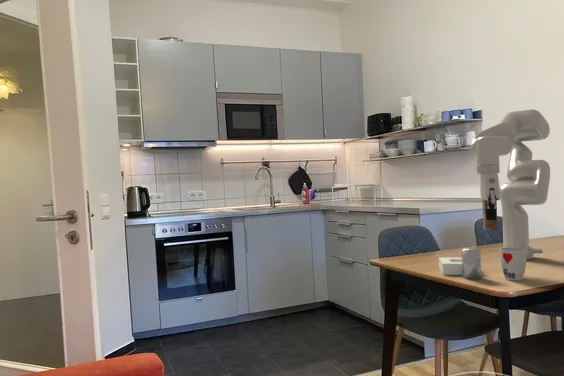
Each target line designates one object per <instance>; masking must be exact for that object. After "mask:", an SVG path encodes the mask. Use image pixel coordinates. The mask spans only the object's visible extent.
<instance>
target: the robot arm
mask: <svg viewBox="0 0 564 376" xmlns="http://www.w3.org/2000/svg"><path fill="white" fill-rule="evenodd" d="M550 129H551V127H550V125H549V122H548V121H547V119H546V117H544V115H543V114H542V113H541V112H540V111H539V110H538V109H537V110H536V109H524V110H516V111H510V112H508V113H507V114H505V115H504V116H503V117H502V118H501V120H500V121H499V122H498V123H497V124H495V125H493V126H491V127H489V128H486V129H483V130H481V131H480V132H478V133H477V134H476V135H475V136H474V137H473V138H472V140H471V143H470V147H469V148H470V149H469V150H470V153H471V154H472V156H474V157H476V171H477V173H476V174H477V175H479V177H480V179H479V180H480V182H479V183H480V185H479V187H480V190H479V191H480V199H481V200H482V199H485V200H486V201H487V209H486V218H487V220H496V203H495V197H496V201H500V204H501V213H502V239H503V240H502V242H503V243H502V244H503V245H502V246H503V247H502V248H508V247H511V248H523V249H526V250H527V259H526V261H527V260H531V259H534V258H535V256H534V254H543V248H537V247H535V248H533V247H532V246H530V231H529V229H530V228H529V215H528V212H527V211H526V209H525V208H523V206H540V205H541V206H542V205H544V204H545V203H546V202H547V200H548V194H549V187H550V180H551V166H550V164H549V162H547V161H546V160H544V159H533V151H532V150H531V149H530V147H528V146H527V145H526V144H524V143H523V142H531V141H542V140H546V139H547V138H548V137H549V135H550ZM509 154H510V155H509ZM506 155H509V161H508V166H507V171H506V172H507V173H506V177H507V180H508V182H506V183H503V184H502V185H501V186H500V181H499V174H500V173H501V172H500V166H501V165H500V157H501V156H502V157H503V156H506ZM509 181H510V182H509ZM488 199H491V200H488ZM489 202H490V203H489Z"/></svg>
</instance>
